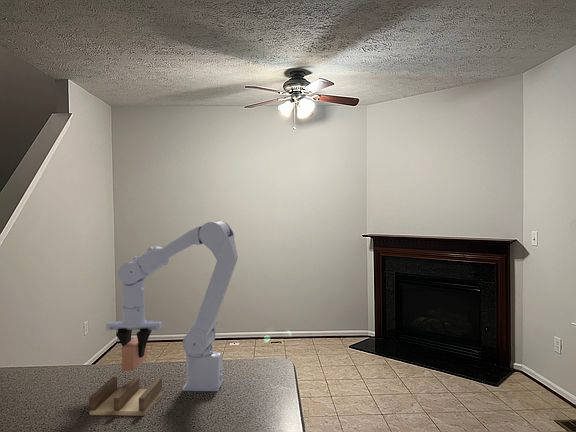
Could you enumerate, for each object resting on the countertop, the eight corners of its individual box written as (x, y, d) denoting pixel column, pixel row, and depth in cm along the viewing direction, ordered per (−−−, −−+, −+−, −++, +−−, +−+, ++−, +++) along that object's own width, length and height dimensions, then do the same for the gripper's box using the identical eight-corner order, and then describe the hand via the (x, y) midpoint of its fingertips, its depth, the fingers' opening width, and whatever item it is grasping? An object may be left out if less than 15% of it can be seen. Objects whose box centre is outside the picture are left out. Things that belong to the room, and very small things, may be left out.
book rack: (162, 393, 124) (161, 377, 124) (144, 415, 111) (143, 398, 111) (113, 392, 125) (112, 377, 124) (89, 414, 112) (89, 397, 112)
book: (147, 358, 136) (146, 336, 135) (133, 370, 126) (133, 347, 125) (136, 358, 136) (136, 336, 136) (122, 370, 126) (121, 347, 126)
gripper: (164, 302, 134) (166, 351, 134) (113, 303, 135) (114, 351, 135) (156, 308, 127) (157, 360, 127) (102, 308, 128) (103, 360, 128)
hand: (135, 356), depth 131 cm, fingers closed on book, 3 cm apart
